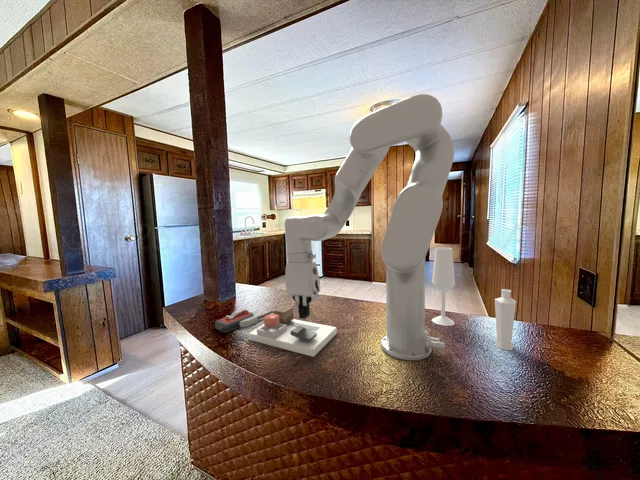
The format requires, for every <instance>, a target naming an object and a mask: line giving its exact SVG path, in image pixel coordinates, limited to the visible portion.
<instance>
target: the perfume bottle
mask: <svg viewBox="0 0 640 480" xmlns="http://www.w3.org/2000/svg"><path fill="white" fill-rule="evenodd" d="M500 291H501V294H500V295H501V297H496V298H494V309H495V310H494V313H495V328H496V341H495V343H494V344H495V346H496V347H498V349H500V350H505V351H513V348H514V347H513V346H514V345H513V343H512V340H513V330H514V321H515V313H516V303H517V300H515V299H514V298H512V297H511V292H512V290H511V289H506V288H502V289H500Z"/></svg>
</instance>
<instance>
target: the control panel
mask: <svg viewBox="0 0 640 480" xmlns="http://www.w3.org/2000/svg"><path fill="white" fill-rule="evenodd" d="M297 326H301V327H304V328H306V329H309V330H311V331H314V332H316V333H317V336H316V337H315V338H314V339H313V340H312V341H311V342H306V341H304V340H302V339H299V338H297V337H295V336H292V335H290V334H291V331H292V330H293V329H295V328H296V327H297ZM337 331H338V330H337V327H336V326H333V325H332V326H331V325H327V324H323V323H322V324H321V323H316V322H311V321H307V320H306V321H305V320H300V319H295V318H294V319H293V320H291V321H290V322H288V323H287V324H281V323H279V324H278V325H276V326H273V327H267V326H265V325H264V324H262V325H260V326H258V327H257V328H255V329H253V330H252V331H249V333H248V340H249V341H253V342H257V343H260V344H265V345H267V346H272V347H275V348H279V349H283V350H286V351H290V352H293V353H298V354H302V355H306V356H309V357H316V355H317V354H318V353H319V352H321V350H322V349H323V348H324V347H326V345H327V344H328V343H330V341H332V339H333V338H334V337H335V336H336V335H337Z"/></svg>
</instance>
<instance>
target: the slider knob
mask: <svg viewBox="0 0 640 480" xmlns="http://www.w3.org/2000/svg"><path fill="white" fill-rule="evenodd" d="M273 312H274V313H273V314H277V315H279V323H281V324H287V323H288V322H290V321H291V320H293V319H295V317H294V307H293V306H288V305H281V306H279V307H277V308H276V309H274V310H273Z"/></svg>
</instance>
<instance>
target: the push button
mask: <svg viewBox="0 0 640 480" xmlns="http://www.w3.org/2000/svg"><path fill="white" fill-rule="evenodd" d="M278 324H279V315H277V314H274V313H271V314H269V315H266V316H265V317H264V318H263V325H265V326H267V327H273V326H276V325H278Z"/></svg>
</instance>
